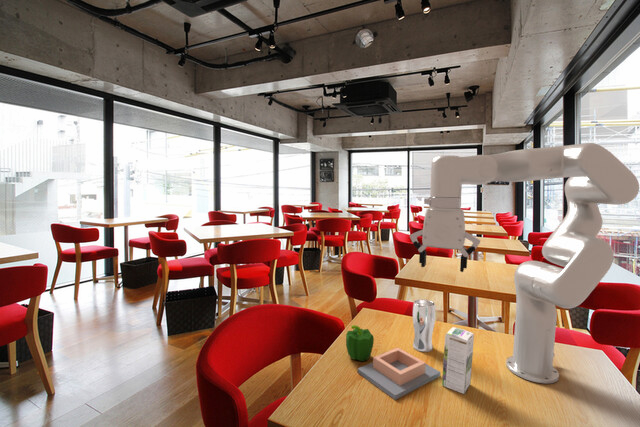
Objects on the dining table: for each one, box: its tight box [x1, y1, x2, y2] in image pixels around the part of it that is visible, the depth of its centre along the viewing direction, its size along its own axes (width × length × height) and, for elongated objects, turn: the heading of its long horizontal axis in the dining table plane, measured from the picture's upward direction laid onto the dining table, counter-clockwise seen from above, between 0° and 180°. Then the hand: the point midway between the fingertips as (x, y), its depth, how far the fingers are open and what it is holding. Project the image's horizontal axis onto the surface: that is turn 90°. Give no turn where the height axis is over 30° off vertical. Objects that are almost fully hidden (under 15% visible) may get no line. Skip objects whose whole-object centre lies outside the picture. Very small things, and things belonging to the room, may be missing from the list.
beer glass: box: [412, 298, 436, 353], centre depth 106 cm, size 7×7×15 cm
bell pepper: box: [345, 324, 375, 362], centre depth 100 cm, size 8×8×10 cm
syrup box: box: [441, 326, 475, 395], centre depth 86 cm, size 6×6×14 cm
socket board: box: [357, 347, 441, 401], centre depth 91 cm, size 18×14×4 cm
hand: (442, 268), depth 87 cm, fingers open, 9 cm apart
